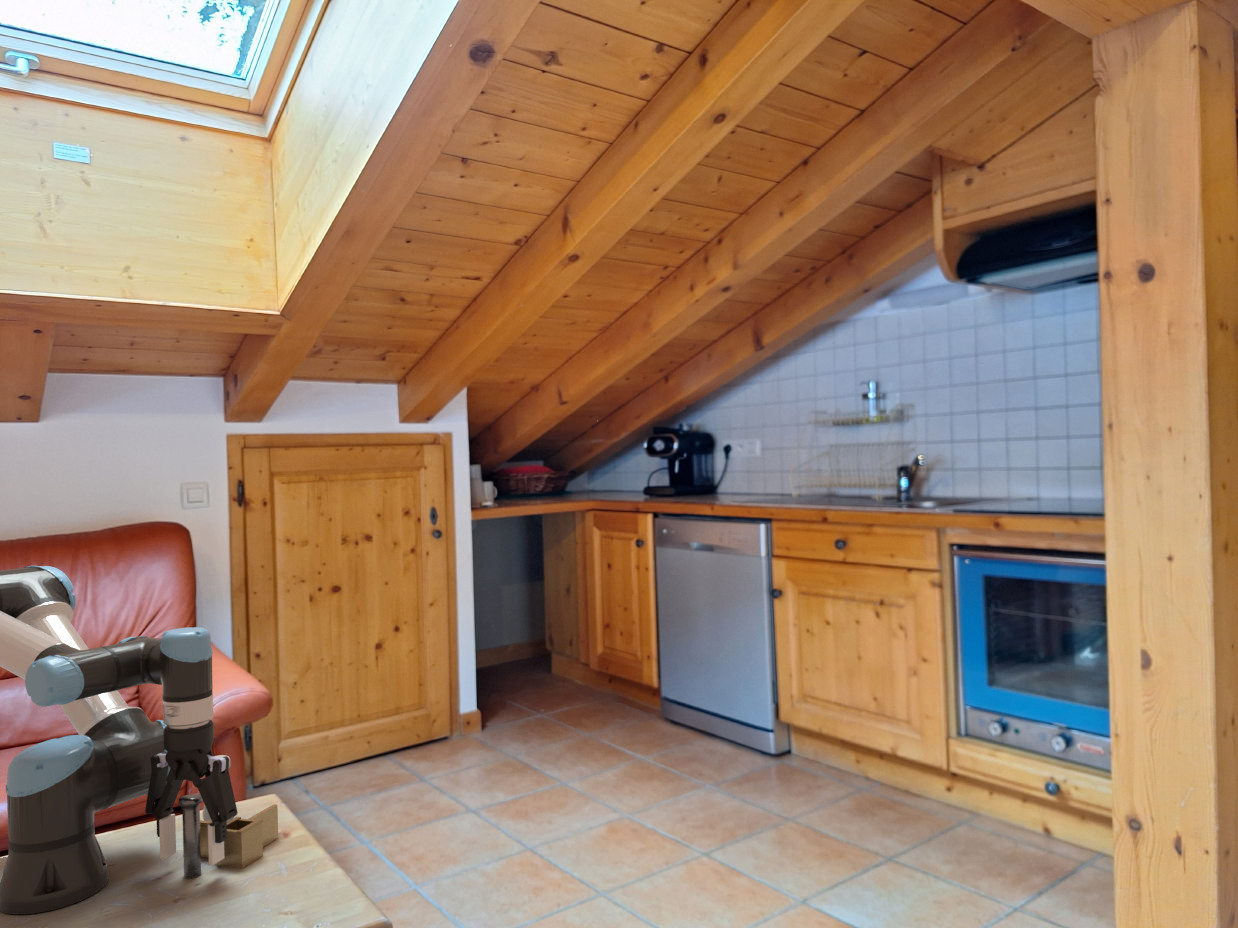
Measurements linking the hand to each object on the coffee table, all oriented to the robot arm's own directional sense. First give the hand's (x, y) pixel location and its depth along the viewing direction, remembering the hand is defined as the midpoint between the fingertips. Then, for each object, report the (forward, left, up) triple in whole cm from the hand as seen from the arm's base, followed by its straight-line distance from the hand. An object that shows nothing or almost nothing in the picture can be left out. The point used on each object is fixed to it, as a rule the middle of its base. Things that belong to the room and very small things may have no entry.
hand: (192, 858), depth 146 cm
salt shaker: (-10, +18, -3) cm, 21 cm away
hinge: (+1, +10, -3) cm, 10 cm away
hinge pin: (0, 0, -3) cm, 3 cm away
